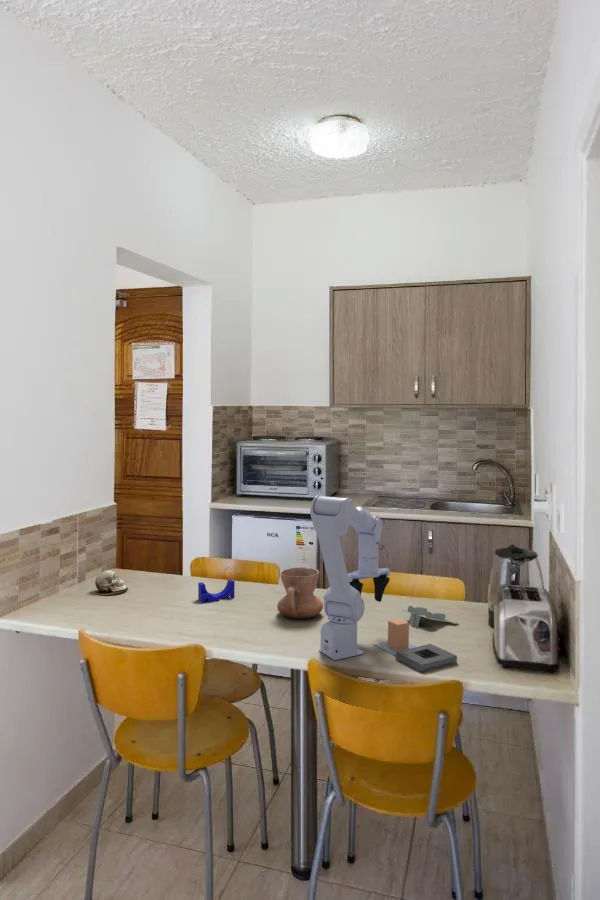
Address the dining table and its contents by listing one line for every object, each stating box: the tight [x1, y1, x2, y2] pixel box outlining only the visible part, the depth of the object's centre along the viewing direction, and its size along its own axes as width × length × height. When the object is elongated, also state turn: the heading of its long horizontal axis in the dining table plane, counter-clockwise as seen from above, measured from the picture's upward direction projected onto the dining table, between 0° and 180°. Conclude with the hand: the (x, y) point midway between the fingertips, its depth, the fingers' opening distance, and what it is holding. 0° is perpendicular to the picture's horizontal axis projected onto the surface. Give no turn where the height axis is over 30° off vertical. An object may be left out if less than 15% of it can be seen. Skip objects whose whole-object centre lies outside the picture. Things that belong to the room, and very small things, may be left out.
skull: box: [94, 569, 129, 596], centre depth 233 cm, size 12×10×10 cm
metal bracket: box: [402, 605, 460, 628], centre depth 202 cm, size 14×6×15 cm
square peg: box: [387, 618, 410, 650], centre depth 180 cm, size 4×4×7 cm
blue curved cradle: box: [197, 578, 236, 604], centre depth 224 cm, size 12×4×6 cm, turn 115°
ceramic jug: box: [276, 566, 324, 620], centre depth 207 cm, size 18×14×14 cm
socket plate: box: [395, 643, 458, 674], centre depth 170 cm, size 12×10×2 cm
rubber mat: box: [374, 640, 417, 657], centre depth 180 cm, size 9×9×1 cm
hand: (367, 602), depth 190 cm, fingers open, 7 cm apart
